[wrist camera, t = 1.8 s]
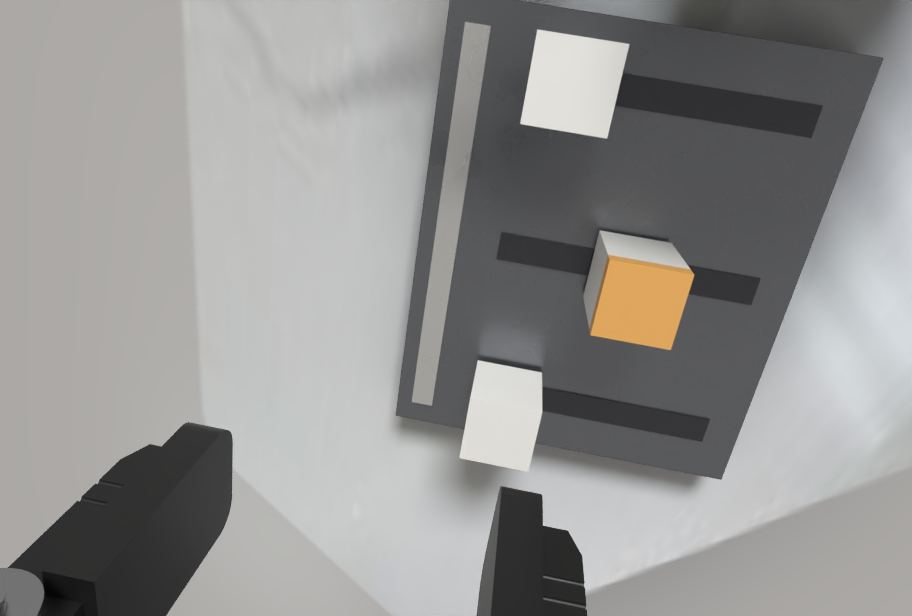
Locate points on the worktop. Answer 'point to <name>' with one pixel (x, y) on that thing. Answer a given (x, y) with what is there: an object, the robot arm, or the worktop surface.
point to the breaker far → (503, 416)
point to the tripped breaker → (636, 290)
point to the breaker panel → (621, 225)
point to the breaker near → (573, 83)
